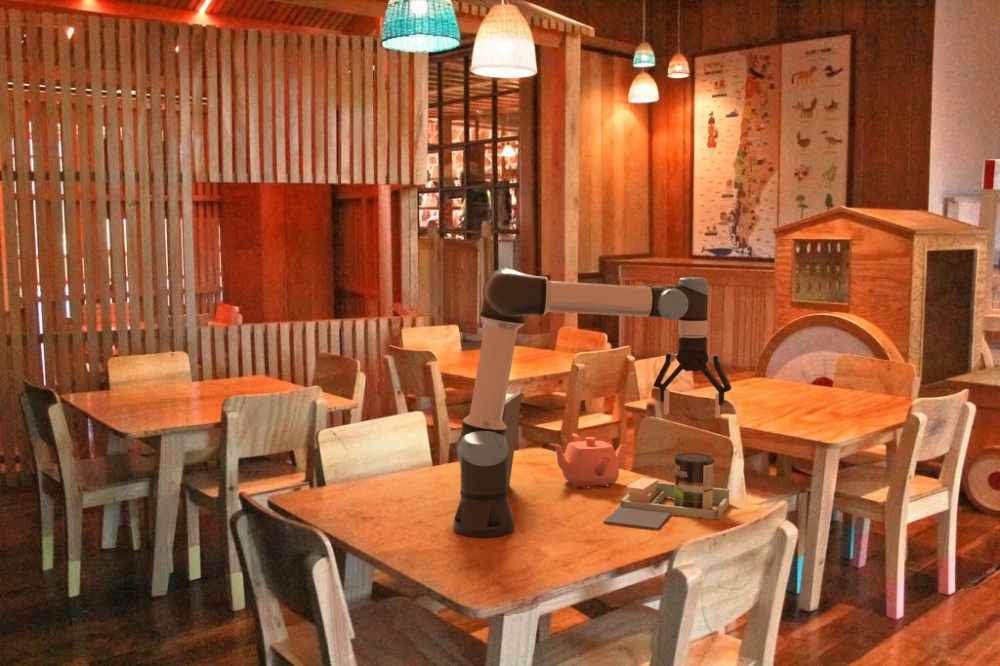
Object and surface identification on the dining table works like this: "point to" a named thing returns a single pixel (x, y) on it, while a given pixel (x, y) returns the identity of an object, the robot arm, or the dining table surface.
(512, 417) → the book
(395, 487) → the dining table surface
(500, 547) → the dining table surface
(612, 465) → the teapot
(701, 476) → the coffee can
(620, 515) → the mat
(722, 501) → the rack
